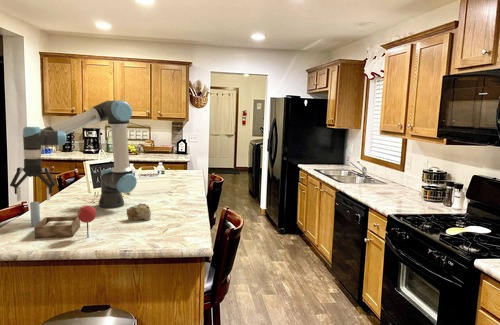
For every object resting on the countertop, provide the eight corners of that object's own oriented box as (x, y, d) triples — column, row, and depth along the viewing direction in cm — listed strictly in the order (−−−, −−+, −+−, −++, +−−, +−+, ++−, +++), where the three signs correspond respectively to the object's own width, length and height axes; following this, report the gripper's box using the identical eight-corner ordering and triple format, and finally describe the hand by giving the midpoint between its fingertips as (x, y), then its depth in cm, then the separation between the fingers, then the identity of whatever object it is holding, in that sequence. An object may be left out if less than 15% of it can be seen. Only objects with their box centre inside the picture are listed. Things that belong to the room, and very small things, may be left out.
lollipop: (82, 235, 180) (81, 204, 178) (98, 234, 180) (98, 204, 179) (76, 240, 172) (75, 208, 170) (93, 240, 173) (92, 208, 171)
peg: (41, 224, 195) (40, 201, 193) (38, 226, 191) (37, 203, 189) (32, 224, 194) (31, 201, 192) (30, 226, 190) (28, 203, 189)
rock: (154, 215, 213) (147, 199, 210) (152, 220, 207) (145, 203, 204) (133, 221, 213) (127, 205, 210) (130, 226, 207) (124, 210, 204)
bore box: (80, 226, 192) (79, 216, 192) (72, 236, 177) (72, 225, 176) (45, 228, 189) (45, 217, 188) (34, 238, 173) (34, 226, 173)
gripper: (61, 157, 194) (62, 198, 197) (7, 156, 189) (9, 198, 192) (57, 159, 187) (58, 201, 190) (1, 158, 182) (3, 202, 184)
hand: (33, 200), depth 191 cm, fingers open, 13 cm apart
